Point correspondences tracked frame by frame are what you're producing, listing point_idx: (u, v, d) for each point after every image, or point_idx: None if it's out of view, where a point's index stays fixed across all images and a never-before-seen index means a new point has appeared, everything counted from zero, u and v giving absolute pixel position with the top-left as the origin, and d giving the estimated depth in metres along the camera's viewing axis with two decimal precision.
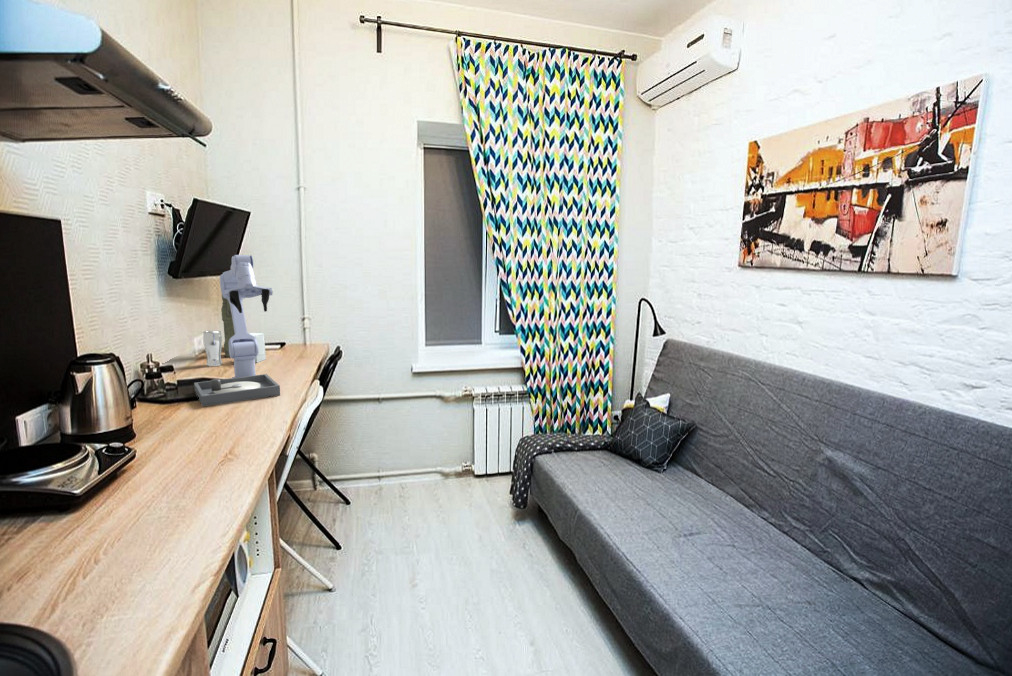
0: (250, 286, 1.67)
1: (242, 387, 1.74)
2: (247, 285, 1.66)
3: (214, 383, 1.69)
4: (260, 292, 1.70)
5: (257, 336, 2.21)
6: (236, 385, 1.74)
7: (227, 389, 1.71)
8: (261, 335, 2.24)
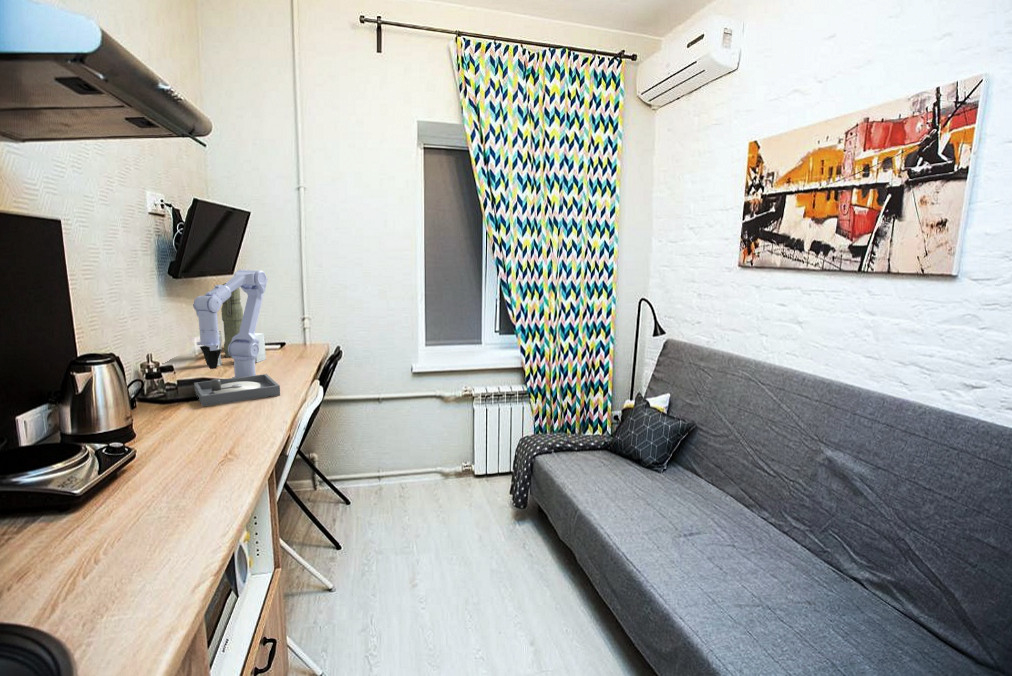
0: (200, 344, 1.71)
1: (242, 387, 1.74)
2: None
3: (214, 383, 1.69)
4: None
5: (257, 336, 2.21)
6: (236, 385, 1.74)
7: (227, 389, 1.71)
8: (261, 335, 2.24)
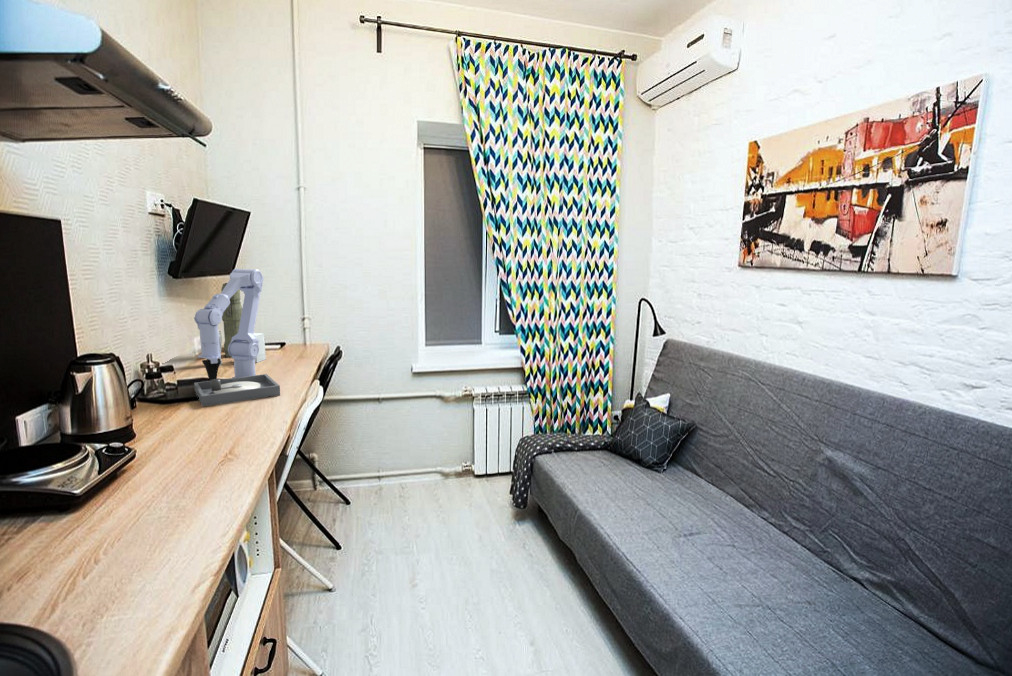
0: (201, 357, 1.71)
1: (242, 387, 1.74)
2: None
3: (214, 383, 1.69)
4: None
5: (257, 336, 2.21)
6: (236, 385, 1.74)
7: (227, 389, 1.71)
8: (261, 335, 2.24)
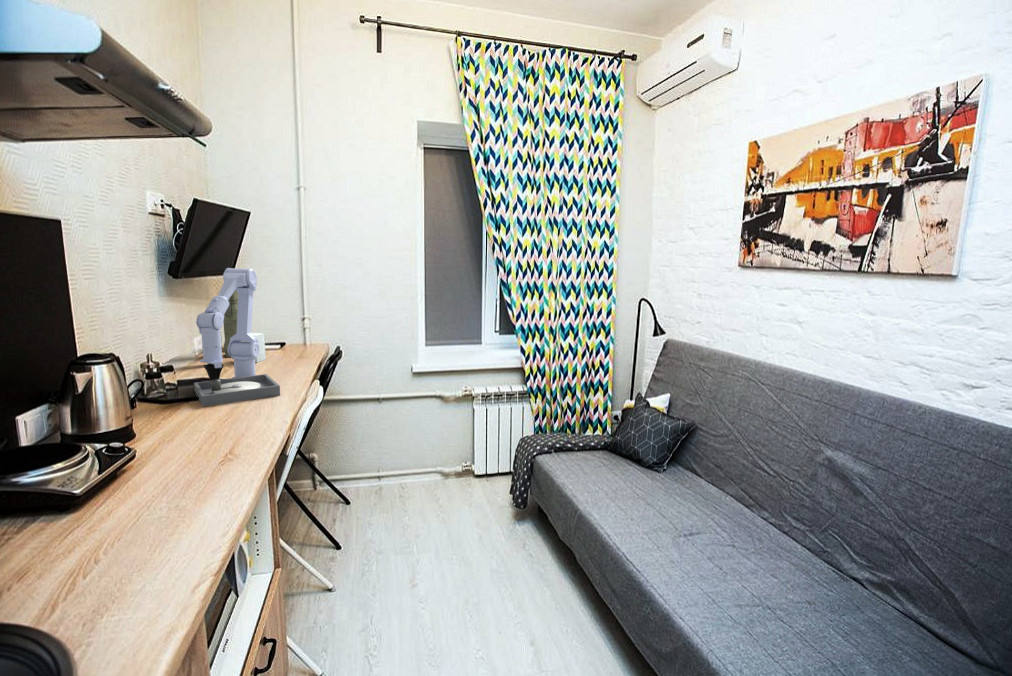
0: None
1: (242, 387, 1.74)
2: None
3: (214, 383, 1.69)
4: (214, 364, 1.68)
5: (257, 336, 2.21)
6: (236, 385, 1.74)
7: (227, 389, 1.71)
8: (261, 335, 2.24)
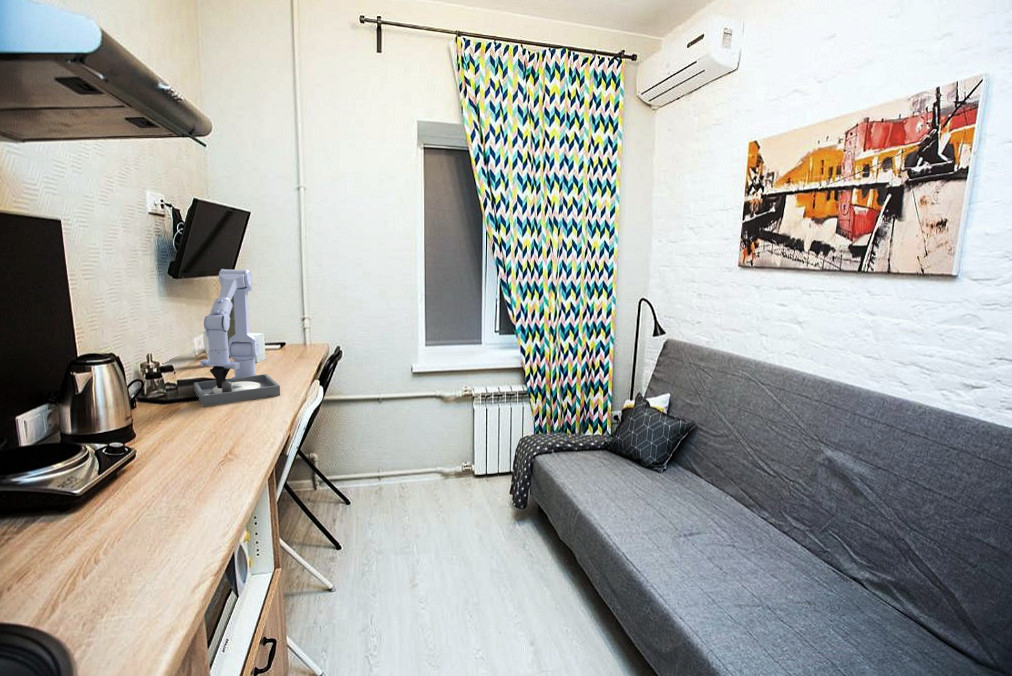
0: (213, 365, 1.64)
1: (244, 385, 1.76)
2: None
3: (230, 384, 1.67)
4: (227, 366, 1.66)
5: (257, 336, 2.21)
6: (237, 385, 1.74)
7: (237, 389, 1.71)
8: (261, 335, 2.24)
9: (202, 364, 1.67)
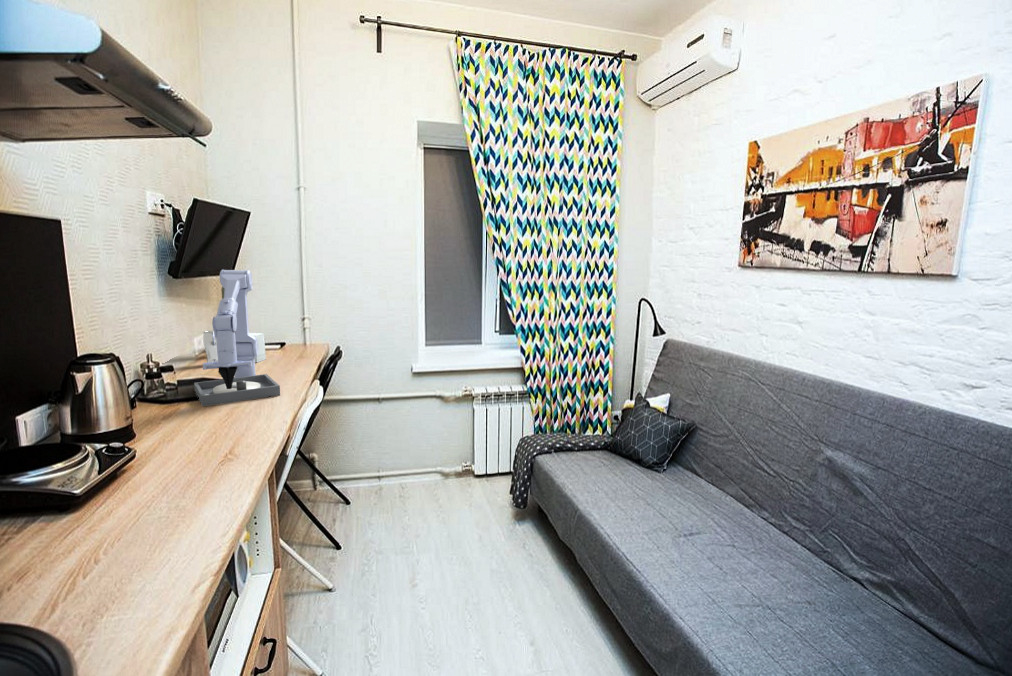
0: None
1: None
2: (223, 366, 1.63)
3: (246, 383, 1.70)
4: (239, 366, 1.67)
5: (257, 336, 2.21)
6: (237, 385, 1.74)
7: None
8: (261, 335, 2.24)
9: (205, 367, 1.63)
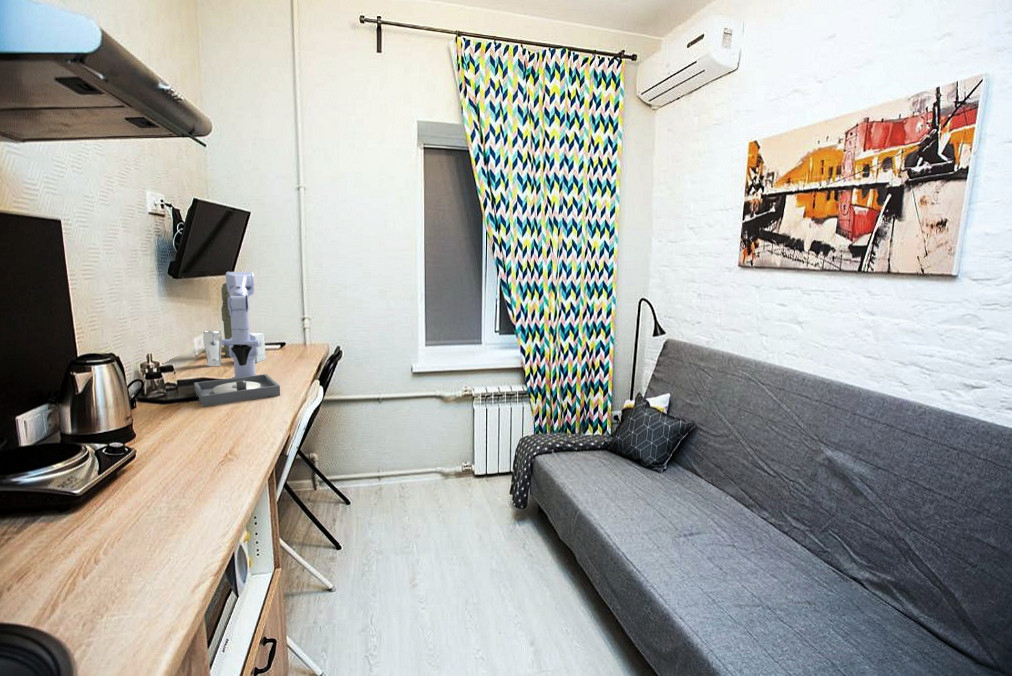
0: (236, 344, 1.74)
1: None
2: (233, 343, 1.73)
3: (246, 383, 1.70)
4: (249, 345, 1.76)
5: (257, 336, 2.21)
6: (237, 385, 1.74)
7: None
8: (261, 335, 2.24)
9: (223, 343, 1.76)
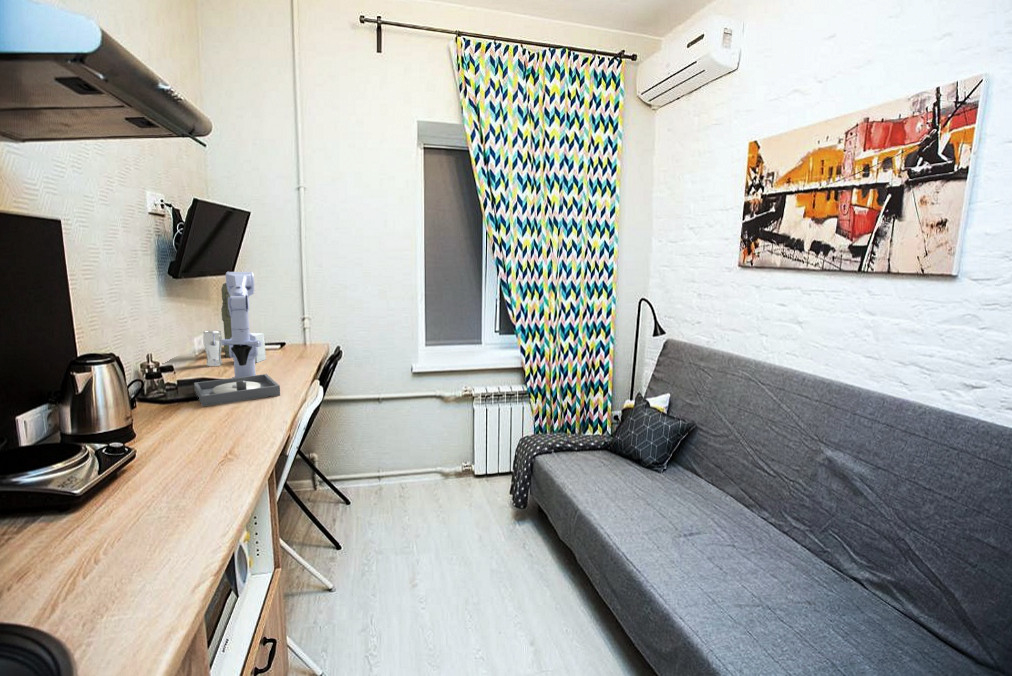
0: (236, 344, 1.74)
1: None
2: (233, 343, 1.73)
3: (246, 383, 1.70)
4: (249, 345, 1.76)
5: (257, 336, 2.21)
6: (237, 385, 1.74)
7: None
8: (261, 335, 2.24)
9: (223, 343, 1.76)
